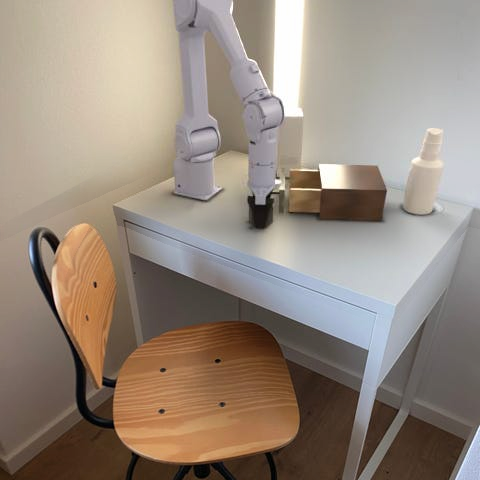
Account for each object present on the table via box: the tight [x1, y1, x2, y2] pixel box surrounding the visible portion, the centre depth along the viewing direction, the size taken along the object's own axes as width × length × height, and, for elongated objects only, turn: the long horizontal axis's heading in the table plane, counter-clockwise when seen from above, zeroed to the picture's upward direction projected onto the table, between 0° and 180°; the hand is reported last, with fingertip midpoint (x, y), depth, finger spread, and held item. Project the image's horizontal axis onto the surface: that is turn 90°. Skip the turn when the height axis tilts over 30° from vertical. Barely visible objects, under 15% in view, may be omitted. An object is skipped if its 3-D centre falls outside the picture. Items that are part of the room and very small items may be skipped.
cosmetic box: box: [276, 107, 305, 178], centre depth 132 cm, size 8×7×16 cm
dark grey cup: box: [248, 203, 275, 228], centre depth 111 cm, size 5×5×5 cm
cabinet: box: [317, 163, 388, 222], centre depth 117 cm, size 14×14×7 cm
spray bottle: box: [402, 127, 445, 216], centre depth 113 cm, size 7×7×18 cm
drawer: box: [271, 168, 322, 215], centre depth 118 cm, size 17×13×6 cm
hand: (260, 221), depth 112 cm, fingers closed on dark grey cup, 5 cm apart
